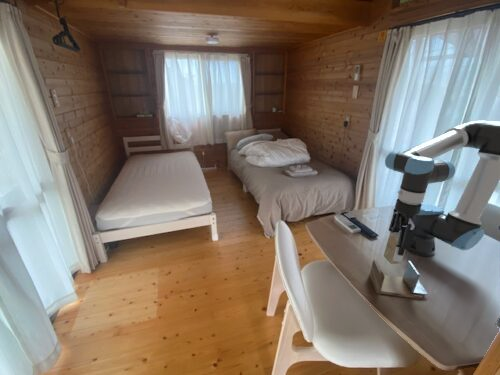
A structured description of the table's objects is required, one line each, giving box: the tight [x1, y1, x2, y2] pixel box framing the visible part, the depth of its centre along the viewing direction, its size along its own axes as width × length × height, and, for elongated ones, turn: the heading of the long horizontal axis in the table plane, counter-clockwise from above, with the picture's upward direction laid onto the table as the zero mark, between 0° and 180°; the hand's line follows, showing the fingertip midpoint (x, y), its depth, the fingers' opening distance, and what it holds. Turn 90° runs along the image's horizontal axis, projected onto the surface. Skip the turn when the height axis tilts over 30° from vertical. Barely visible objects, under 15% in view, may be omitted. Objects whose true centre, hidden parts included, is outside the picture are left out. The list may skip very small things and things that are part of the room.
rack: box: [369, 259, 423, 300], centre depth 96 cm, size 16×10×8 cm, turn 80°
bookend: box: [402, 260, 429, 296], centre depth 94 cm, size 6×8×9 cm
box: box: [383, 232, 407, 265], centre depth 92 cm, size 5×4×11 cm
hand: (393, 255), depth 93 cm, fingers closed on box, 6 cm apart
